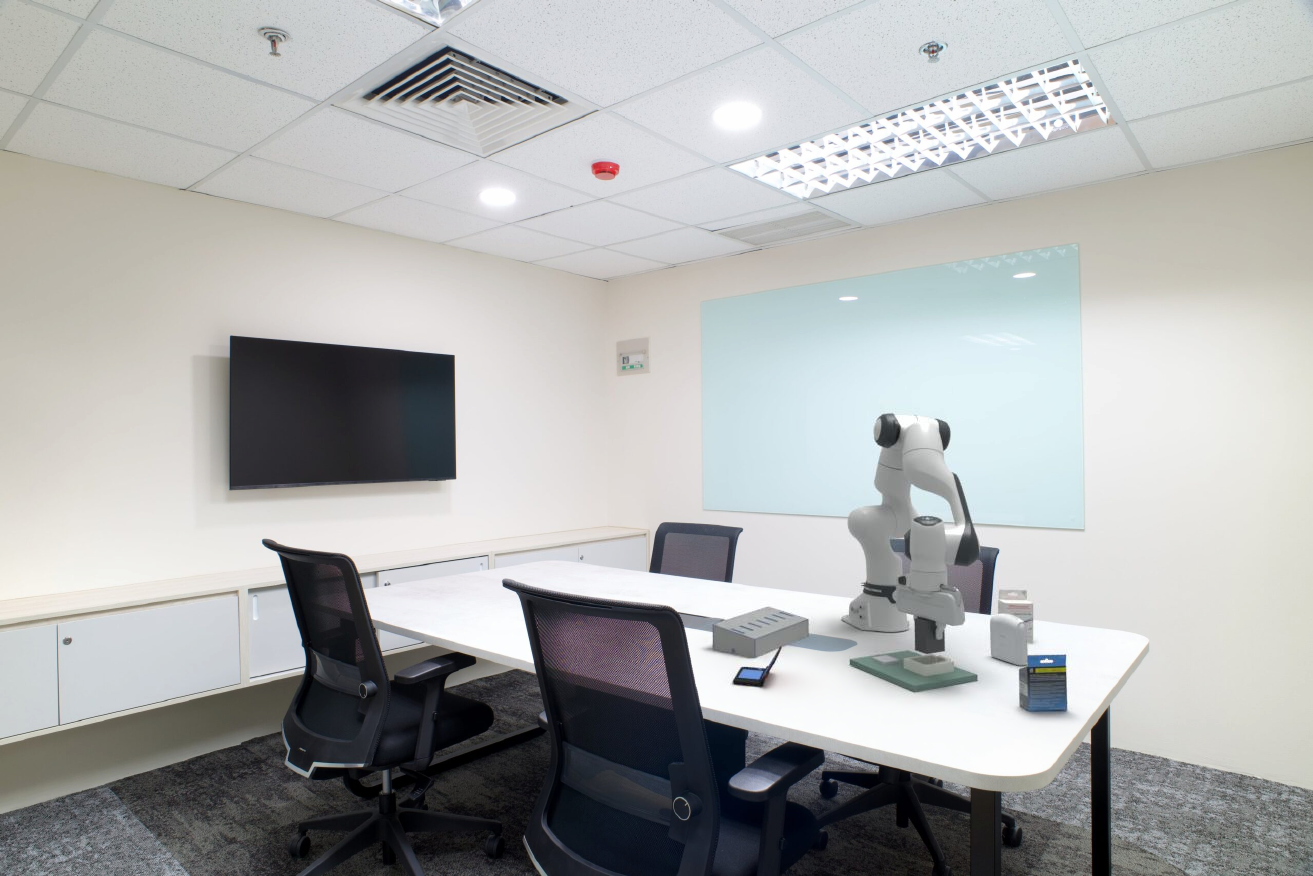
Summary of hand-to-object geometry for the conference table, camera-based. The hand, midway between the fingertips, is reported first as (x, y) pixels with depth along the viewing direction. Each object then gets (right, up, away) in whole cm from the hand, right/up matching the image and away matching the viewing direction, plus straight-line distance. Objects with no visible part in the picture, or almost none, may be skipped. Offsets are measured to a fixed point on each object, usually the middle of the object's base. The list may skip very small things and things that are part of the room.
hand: (929, 636), depth 186 cm
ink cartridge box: (+38, -10, +33) cm, 51 cm away
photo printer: (+26, -10, +13) cm, 31 cm away
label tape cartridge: (+16, -10, -23) cm, 30 cm away
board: (-4, -10, +3) cm, 11 cm away
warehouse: (-38, -11, +33) cm, 51 cm away
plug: (0, -4, 0) cm, 4 cm away
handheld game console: (-43, -11, -1) cm, 45 cm away
